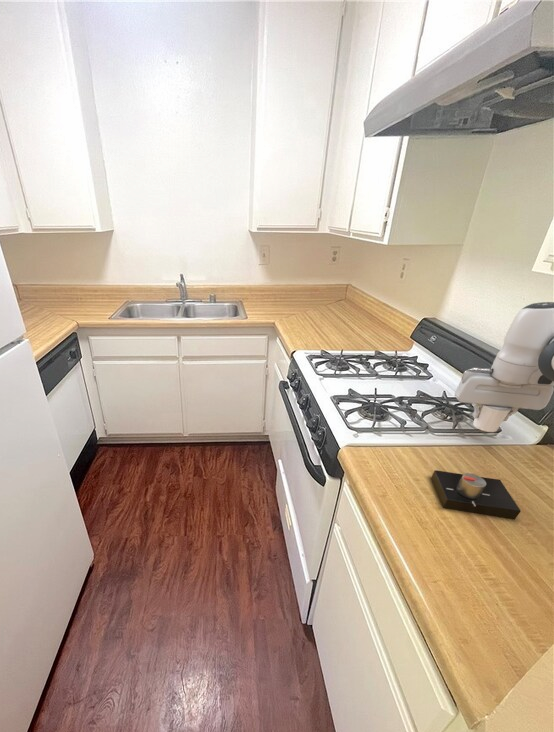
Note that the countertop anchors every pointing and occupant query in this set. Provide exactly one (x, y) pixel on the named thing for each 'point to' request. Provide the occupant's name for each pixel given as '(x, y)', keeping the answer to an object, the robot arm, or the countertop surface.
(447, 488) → the black knob base
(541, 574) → the countertop surface
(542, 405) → the robot arm
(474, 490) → the hob knob
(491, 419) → the white cylinder
